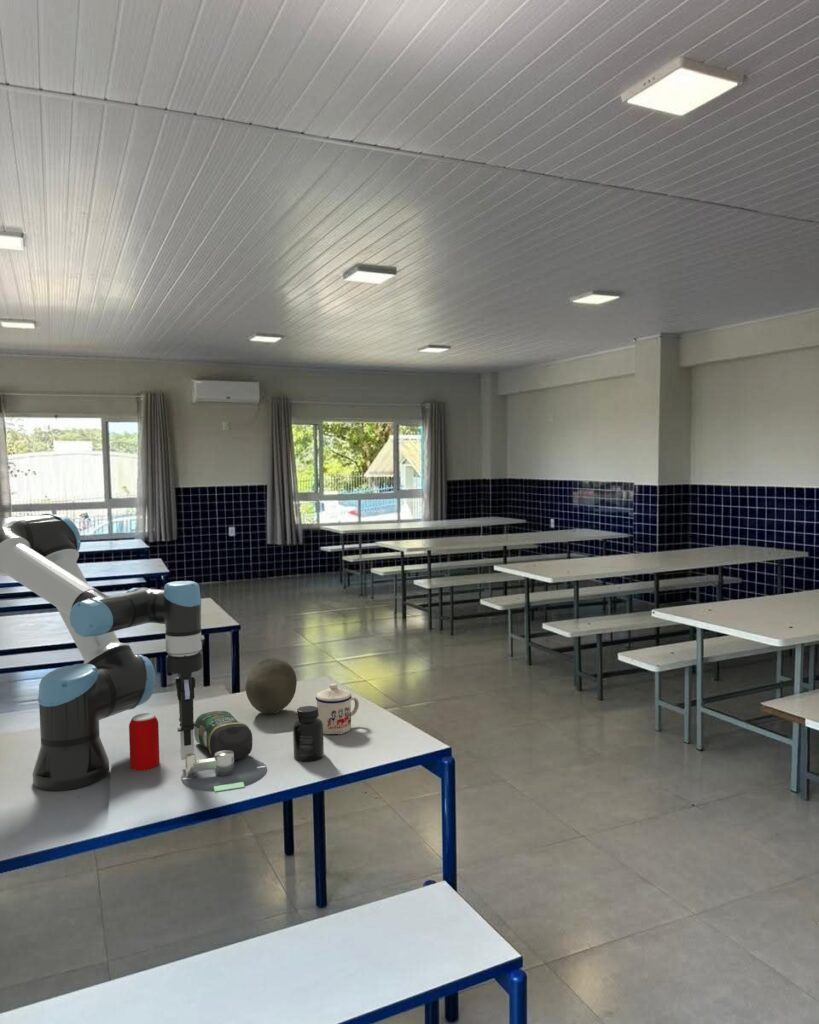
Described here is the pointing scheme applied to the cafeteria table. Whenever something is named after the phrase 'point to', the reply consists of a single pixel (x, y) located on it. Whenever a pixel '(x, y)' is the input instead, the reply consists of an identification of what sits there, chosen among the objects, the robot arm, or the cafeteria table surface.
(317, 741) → the supplement bottle
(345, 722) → the teacup with lid
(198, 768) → the pointer
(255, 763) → the dial plate
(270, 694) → the cantaloupe
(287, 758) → the cafeteria table surface
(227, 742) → the coffee jar
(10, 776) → the cafeteria table surface
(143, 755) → the beverage can
